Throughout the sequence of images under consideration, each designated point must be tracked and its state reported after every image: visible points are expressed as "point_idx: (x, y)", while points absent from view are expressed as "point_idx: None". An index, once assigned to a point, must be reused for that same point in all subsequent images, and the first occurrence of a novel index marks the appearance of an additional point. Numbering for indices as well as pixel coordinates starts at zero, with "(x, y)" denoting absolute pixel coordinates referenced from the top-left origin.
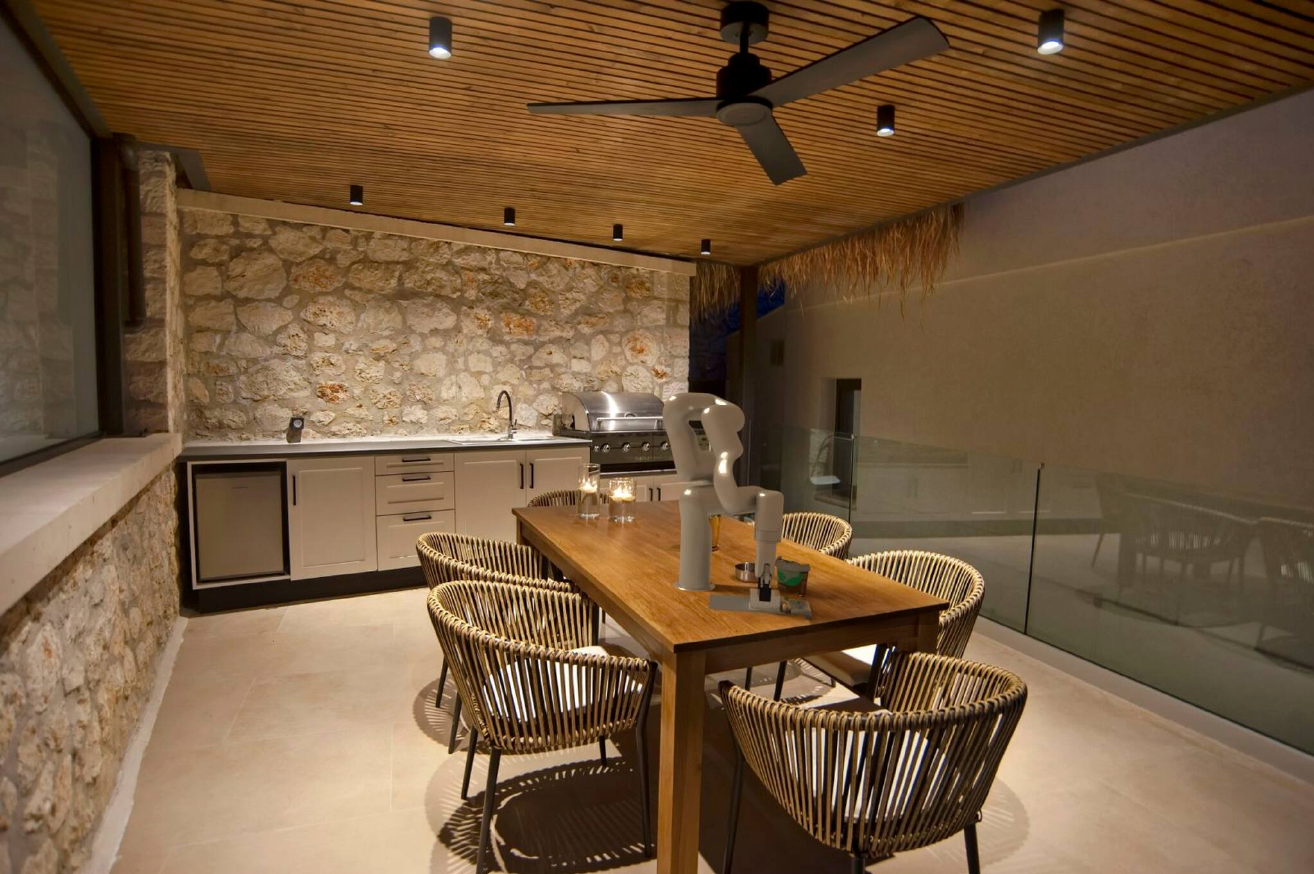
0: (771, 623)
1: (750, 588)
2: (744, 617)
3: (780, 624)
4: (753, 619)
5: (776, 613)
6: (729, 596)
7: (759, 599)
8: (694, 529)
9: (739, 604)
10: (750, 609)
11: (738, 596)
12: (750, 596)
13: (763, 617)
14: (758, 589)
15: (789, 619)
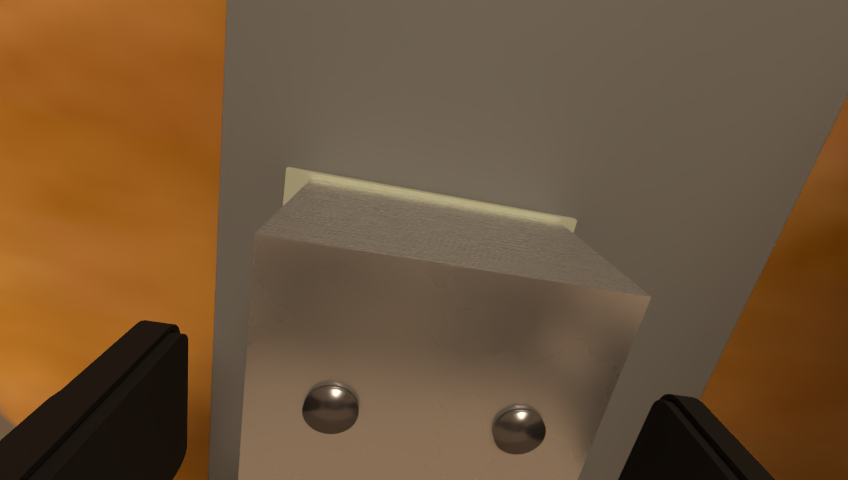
0: (32, 315)
1: (642, 301)
2: (157, 74)
3: (29, 382)
4: (110, 165)
5: (219, 411)
6: (844, 15)
7: (134, 334)
8: None
9: (503, 83)
10: (286, 178)
11: (813, 140)
12: (327, 226)
13: (202, 278)
14: (571, 413)
15: (193, 469)
